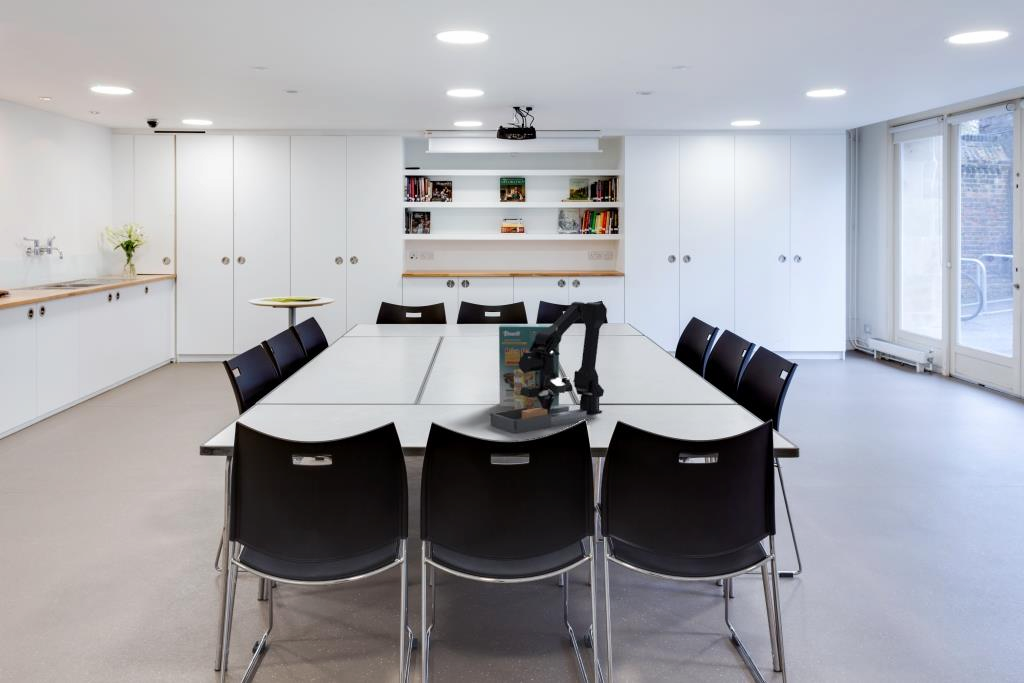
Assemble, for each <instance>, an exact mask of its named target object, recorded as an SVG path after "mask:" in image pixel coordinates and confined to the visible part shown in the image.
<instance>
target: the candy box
mask: <svg viewBox="0 0 1024 683" xmlns="http://www.w3.org/2000/svg"><path fill="white" fill-rule="evenodd" d="M526 386H533V387H535V377H534V371H532V372H527V373H524V372H522V371H521V369H520V368H519V369H516V370H514V406H513V407H514V409H520V408H528V410H530V409H536V407H535V397H532V398H530V397H526V396H522V395H520V390H521V388H522V387H526Z"/></svg>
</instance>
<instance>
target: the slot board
mask: <svg viewBox="0 0 1024 683" xmlns="http://www.w3.org/2000/svg"><path fill="white" fill-rule="evenodd" d="M548 414H550V415H551V427H550V428H553V427H559V426H563V425H569V424H574V423H579V422H578V421H581V420H584V419H585V420H586V421H588V416H587V414H586V411H585V410H581V409H580V408H579V409H574V410H570V406H569V405H566V404H559V405H557V406H551V408H550V411H549V413H548ZM548 414H547V415H548ZM581 422H582V421H581Z"/></svg>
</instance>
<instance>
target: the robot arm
mask: <svg viewBox="0 0 1024 683" xmlns="http://www.w3.org/2000/svg"><path fill="white" fill-rule="evenodd" d="M607 313H608V309H607V307H606V305H605V304H604V303H602V302H601V303H600V302H586V303H584V302H582V301H574V302H571V304H570V306H569V307H568V308H567V309H566V310H565V311H564V312H563V313H562V314H561V315H560V316H559V317H558V318H557V319H556V321H554V322H553V323H552V324H550V325H551V326H550V327H547V328H545V329H543V330H542V331H540V332H539V333H538V334H537V335H536V337H535V340H534V342H533V344H532V346H531V348H530V350H529V352H523V356H522V357H521V358H520V361H519V367H520V369H521V371H522V372H524V373H527V372H532V371H536V375H538V383H536V386H537V387H538V388H536V387H533V386H526V387H522V388H521V390H520V395H522V396H526V397H530V398H532V397H537V398H538V400H539V402H540V403H541V406H542V407H541V408H544V409H547V414H548V413H549V411H550V408H551V405H552V402H553V400H554V398H555V397H556V396H558V395H559V396H560V394H561V393H562V394H564V393H565V392H566V393H567V392H573V386H574V388H575V390H576V394H577V395H580V400H579V409H581V410H585V411H586V415H594V414H598V413H599V414H600V413H602V412H603V410H601V409H600V398H601V397H603V396H604V393H605V389H604V388H603V387H602V386H601V384H599V375H598V372H597V369H596V363H597V354H598V344H599V339H600V328H601V327H602V325H604V323H605V321H606V317H607ZM581 316H582V321H583V323H584V326H585V331H584V341H583V349H582V356H581V358H582V359H581V364H580V368H579V369H578V370H575V371H574V373H573V374H574V378H573V381H572V382H573V385H572V383H571V381H570V378H569V377H568V376H567V377H562V378H561V377H559V378H558V374H557V372H555V355H559V356H560V355H561V354H560V351H559V352H558V351H557V350H556V347H557V346H558V344H559V345H560V343H561V342H562V336H563V335H564V334H565V332H567V330H569V328H570V327H571V326H572V325H573V324H574V323H575V322H576V321H577V320H578V319H579V318H580V317H581ZM538 348H541V349H538ZM543 389H545V390H543Z"/></svg>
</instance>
